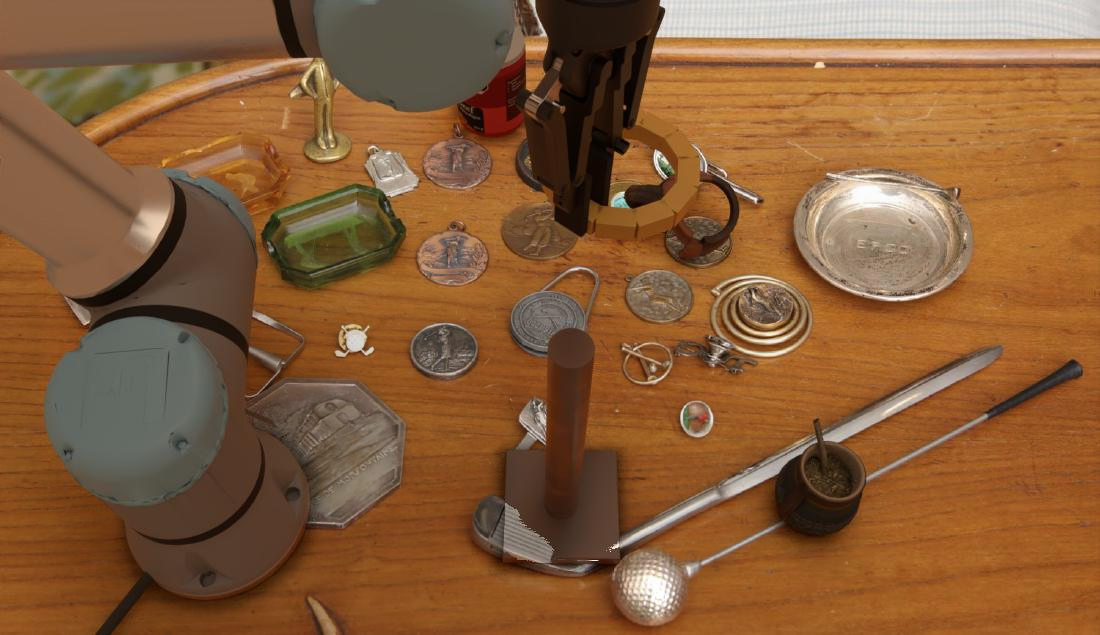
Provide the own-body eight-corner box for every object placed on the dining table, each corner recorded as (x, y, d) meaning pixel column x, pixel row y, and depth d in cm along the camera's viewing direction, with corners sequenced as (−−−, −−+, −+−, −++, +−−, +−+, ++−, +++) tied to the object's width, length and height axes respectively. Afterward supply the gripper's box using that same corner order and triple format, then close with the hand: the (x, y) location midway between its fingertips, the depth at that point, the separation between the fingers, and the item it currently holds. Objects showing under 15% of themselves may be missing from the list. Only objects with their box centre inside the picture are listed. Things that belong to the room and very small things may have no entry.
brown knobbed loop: (716, 187, 103) (750, 169, 95) (709, 270, 101) (744, 259, 94) (614, 170, 100) (641, 150, 92) (607, 255, 99) (633, 243, 91)
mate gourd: (802, 561, 79) (834, 520, 71) (749, 489, 83) (773, 443, 74) (866, 520, 81) (904, 476, 73) (811, 452, 85) (841, 402, 76)
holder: (503, 563, 79) (488, 418, 55) (506, 455, 84) (495, 281, 61) (619, 564, 79) (654, 420, 55) (615, 457, 84) (646, 283, 61)
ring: (641, 266, 70) (644, 251, 69) (511, 190, 74) (511, 175, 73) (725, 168, 76) (729, 153, 74) (600, 102, 80) (601, 87, 78)
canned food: (451, 99, 109) (443, 25, 99) (515, 86, 110) (513, 11, 101) (467, 145, 105) (460, 72, 95) (534, 131, 106) (534, 57, 97)
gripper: (572, 54, 48) (559, 302, 68) (726, -79, 55) (673, 182, 75) (465, -6, 51) (482, 250, 70) (624, -126, 57) (599, 139, 77)
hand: (580, 215), depth 72 cm, fingers closed on ring, 2 cm apart
